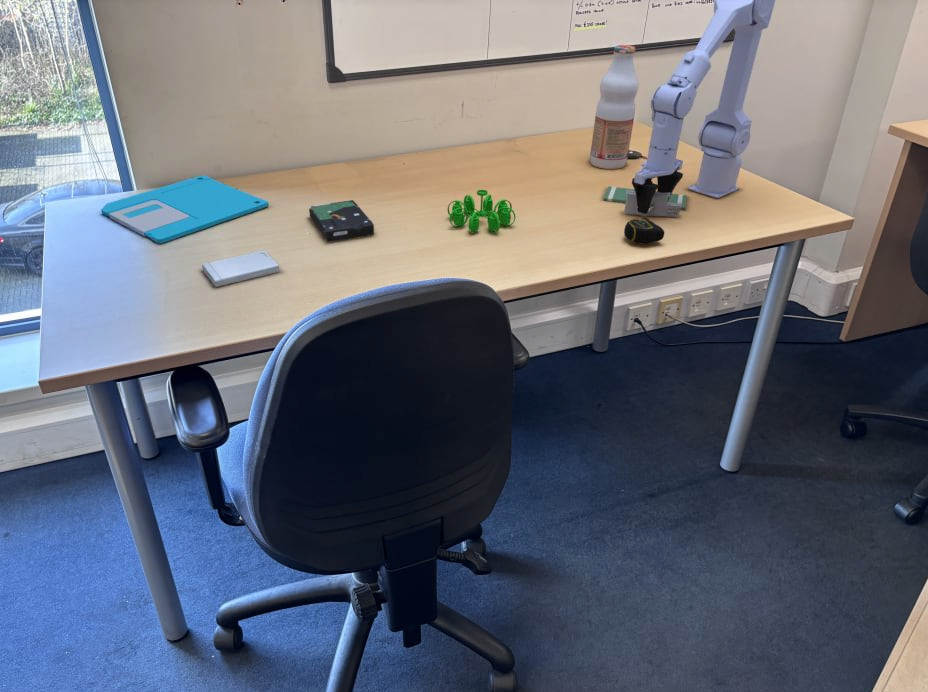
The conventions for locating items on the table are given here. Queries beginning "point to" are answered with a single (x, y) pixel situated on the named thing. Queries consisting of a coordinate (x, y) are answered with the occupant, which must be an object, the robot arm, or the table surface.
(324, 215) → the disk drive
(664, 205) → the lattice window wall
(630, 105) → the fruit juice
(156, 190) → the floppy disk
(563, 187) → the table surface
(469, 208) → the chandelier
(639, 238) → the tape measure
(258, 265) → the hard drive
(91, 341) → the table surface
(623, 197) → the towel
